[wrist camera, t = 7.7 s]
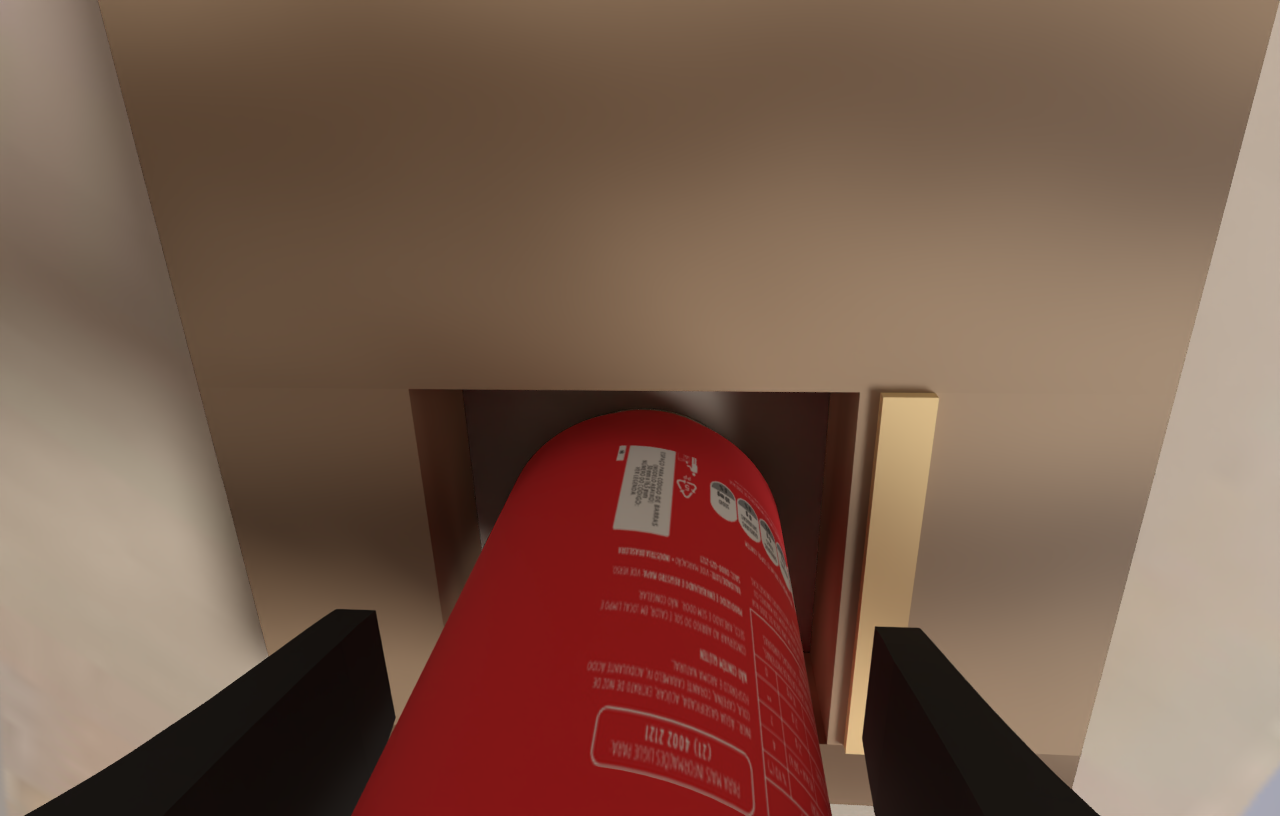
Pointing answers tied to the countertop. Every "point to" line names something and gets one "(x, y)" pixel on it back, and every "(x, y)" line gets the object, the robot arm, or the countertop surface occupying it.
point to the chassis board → (705, 285)
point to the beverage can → (617, 645)
